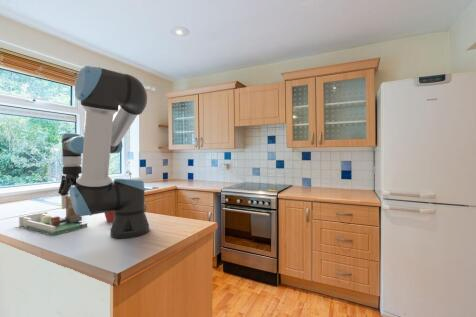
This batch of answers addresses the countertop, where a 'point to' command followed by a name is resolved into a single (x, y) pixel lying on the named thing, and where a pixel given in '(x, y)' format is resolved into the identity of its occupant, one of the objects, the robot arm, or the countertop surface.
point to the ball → (46, 219)
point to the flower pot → (110, 216)
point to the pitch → (36, 224)
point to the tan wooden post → (67, 215)
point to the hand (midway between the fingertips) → (73, 210)
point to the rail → (79, 223)
